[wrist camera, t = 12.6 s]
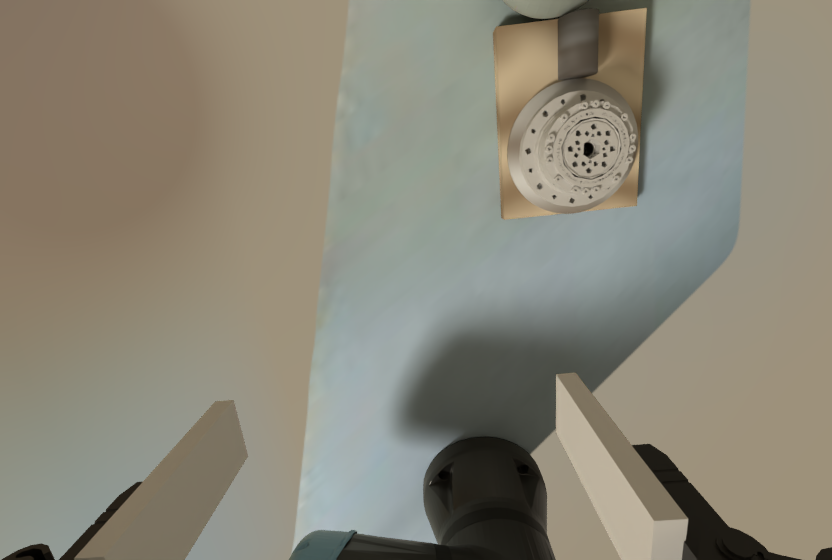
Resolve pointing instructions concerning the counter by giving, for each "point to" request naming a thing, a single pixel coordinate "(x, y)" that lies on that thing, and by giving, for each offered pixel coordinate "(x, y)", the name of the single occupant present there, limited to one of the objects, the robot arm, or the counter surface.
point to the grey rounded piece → (544, 7)
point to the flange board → (565, 91)
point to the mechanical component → (576, 148)
